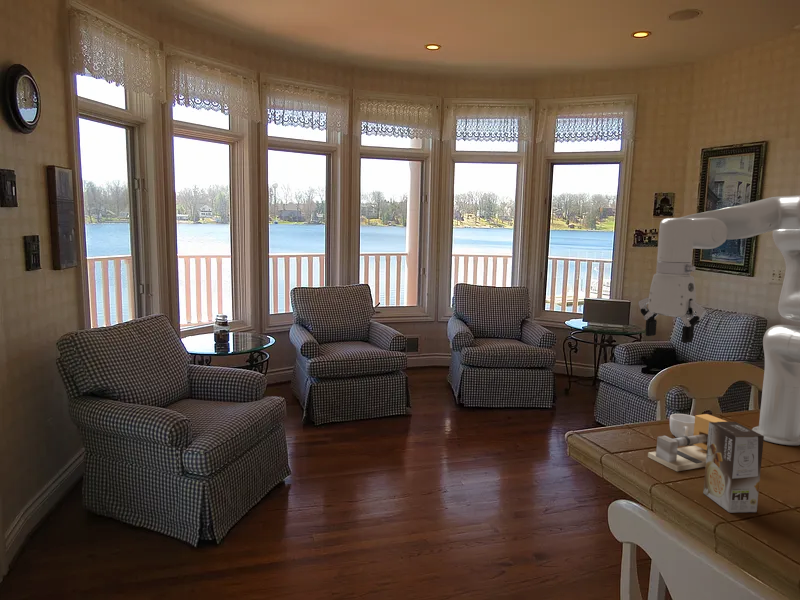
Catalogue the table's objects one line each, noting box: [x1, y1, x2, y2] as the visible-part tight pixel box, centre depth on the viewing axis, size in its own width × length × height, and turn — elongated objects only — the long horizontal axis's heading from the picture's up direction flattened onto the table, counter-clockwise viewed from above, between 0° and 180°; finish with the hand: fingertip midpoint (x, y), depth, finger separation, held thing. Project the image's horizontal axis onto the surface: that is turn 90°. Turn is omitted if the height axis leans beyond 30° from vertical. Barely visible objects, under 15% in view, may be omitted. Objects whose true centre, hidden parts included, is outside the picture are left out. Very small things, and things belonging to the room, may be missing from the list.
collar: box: [692, 413, 729, 450], centre depth 143 cm, size 4×6×8 cm, turn 21°
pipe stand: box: [647, 434, 708, 472], centre depth 142 cm, size 20×9×6 cm, turn 111°
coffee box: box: [703, 421, 765, 513], centre depth 119 cm, size 9×6×16 cm
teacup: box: [669, 413, 695, 438], centre depth 157 cm, size 10×8×5 cm
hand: (668, 338), depth 140 cm, fingers open, 9 cm apart
